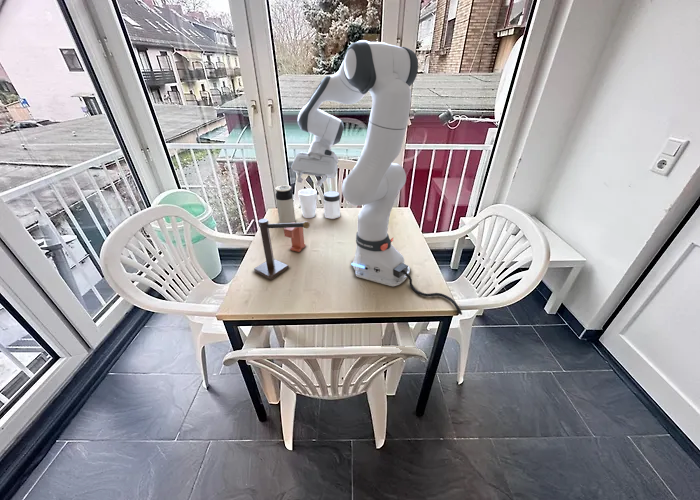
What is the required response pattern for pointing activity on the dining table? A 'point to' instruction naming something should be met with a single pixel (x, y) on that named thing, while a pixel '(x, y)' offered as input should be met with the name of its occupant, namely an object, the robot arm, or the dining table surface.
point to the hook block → (295, 237)
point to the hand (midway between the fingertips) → (308, 183)
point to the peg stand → (271, 265)
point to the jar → (332, 204)
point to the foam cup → (308, 202)
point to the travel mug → (285, 204)
